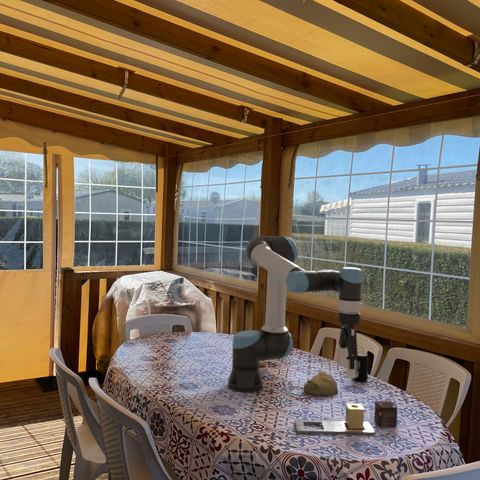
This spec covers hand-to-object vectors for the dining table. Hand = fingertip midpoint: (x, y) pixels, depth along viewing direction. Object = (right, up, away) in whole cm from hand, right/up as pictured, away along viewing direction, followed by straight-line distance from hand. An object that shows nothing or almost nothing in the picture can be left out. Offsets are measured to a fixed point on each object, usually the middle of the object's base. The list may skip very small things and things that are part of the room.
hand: (346, 371), depth 176 cm
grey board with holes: (-5, -18, -5) cm, 20 cm away
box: (+14, -19, 0) cm, 23 cm away
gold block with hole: (+1, -18, -5) cm, 19 cm away
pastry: (-4, -18, +33) cm, 38 cm away
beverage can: (+17, -17, +51) cm, 56 cm away
